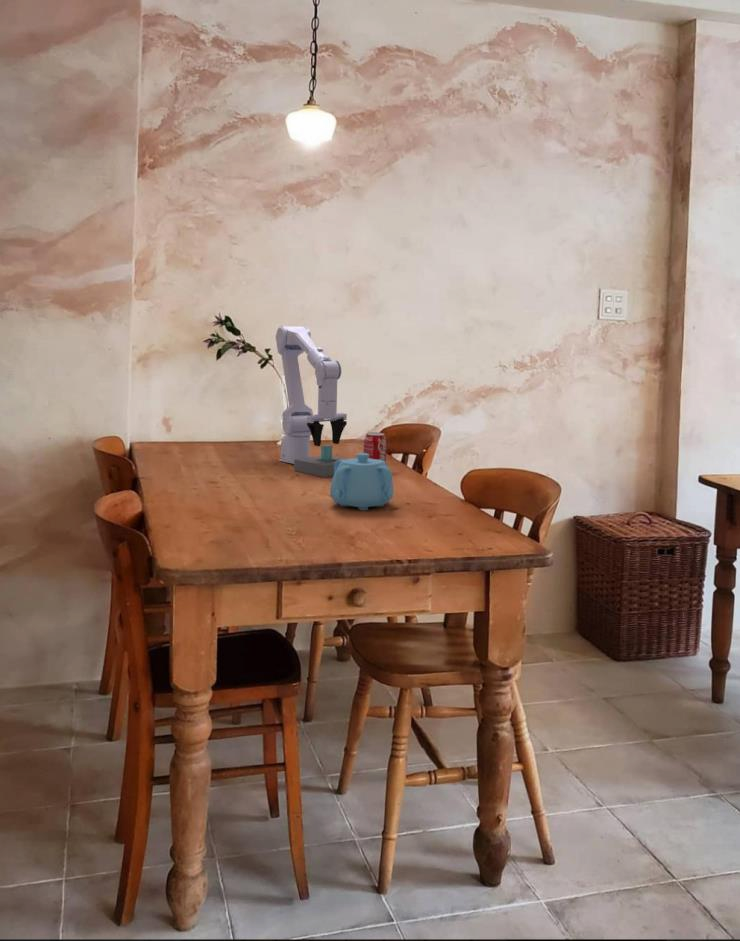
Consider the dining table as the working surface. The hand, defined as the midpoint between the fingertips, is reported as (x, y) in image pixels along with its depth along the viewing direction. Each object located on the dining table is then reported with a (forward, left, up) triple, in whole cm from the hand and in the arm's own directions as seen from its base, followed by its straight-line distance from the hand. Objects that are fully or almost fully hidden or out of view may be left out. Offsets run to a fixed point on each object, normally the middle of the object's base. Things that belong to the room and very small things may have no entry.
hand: (326, 444), depth 285 cm
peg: (0, 0, -8) cm, 8 cm away
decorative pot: (+42, -25, -9) cm, 50 cm away
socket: (0, 0, -8) cm, 8 cm away
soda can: (+9, +12, -9) cm, 17 cm away
